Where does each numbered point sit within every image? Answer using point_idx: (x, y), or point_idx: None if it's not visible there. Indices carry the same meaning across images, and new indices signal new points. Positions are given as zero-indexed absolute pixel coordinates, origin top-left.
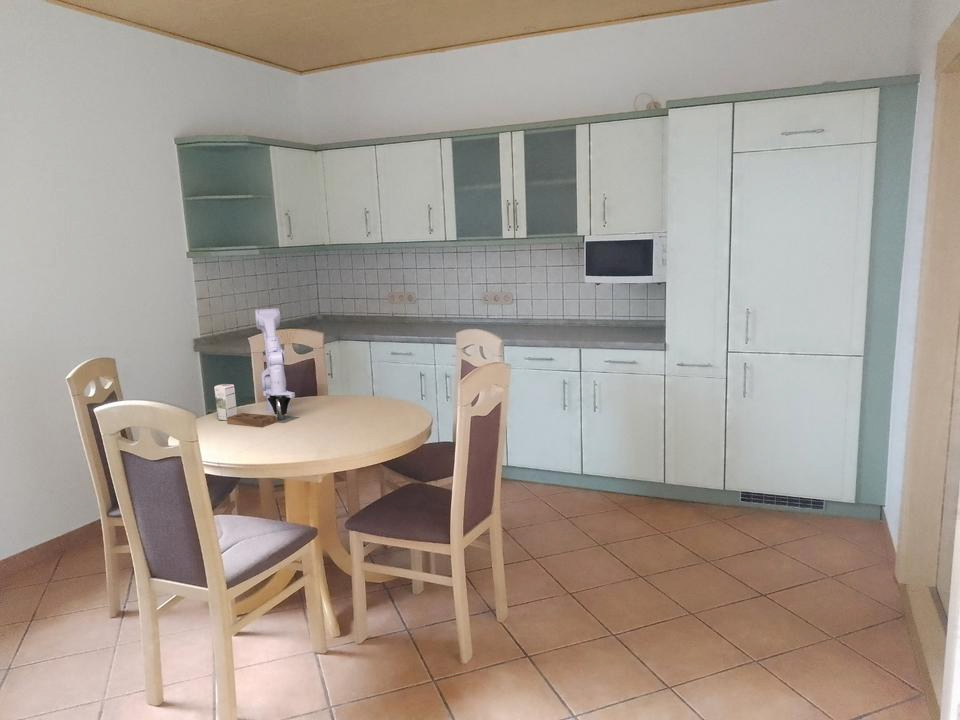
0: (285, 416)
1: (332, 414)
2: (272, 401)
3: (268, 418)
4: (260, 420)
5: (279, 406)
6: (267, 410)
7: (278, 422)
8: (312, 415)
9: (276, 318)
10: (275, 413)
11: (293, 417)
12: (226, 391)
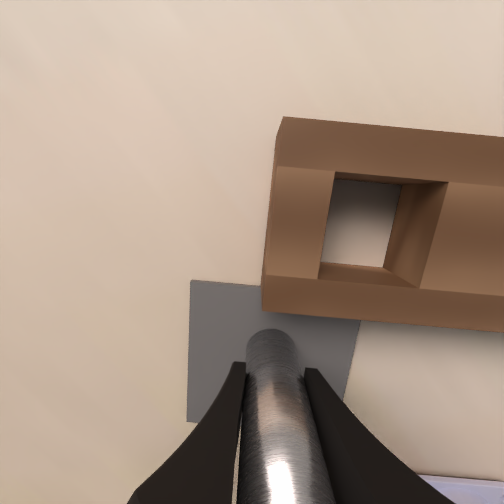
0: None
1: (64, 497)
2: (366, 486)
3: (271, 217)
4: (302, 122)
5: (260, 426)
6: (487, 500)
7: (244, 289)
8: None
9: None
10: (312, 371)
11: None
12: None
